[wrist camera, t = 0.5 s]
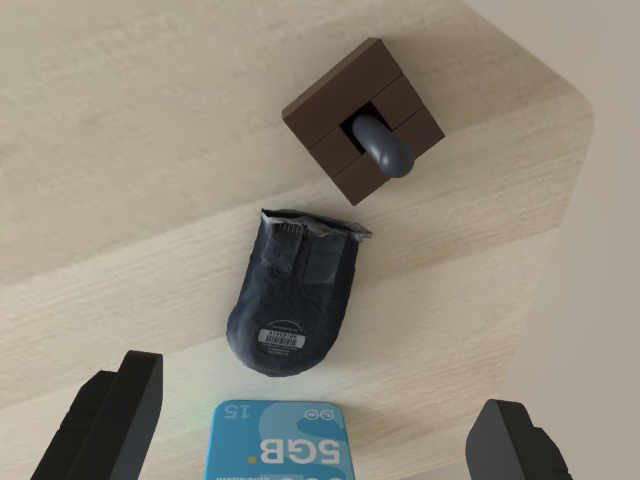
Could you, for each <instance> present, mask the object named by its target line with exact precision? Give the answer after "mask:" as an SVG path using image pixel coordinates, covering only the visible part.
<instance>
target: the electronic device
mask: <svg viewBox="0 0 640 480" xmlns="http://www.w3.org/2000/svg"><path fill="white" fill-rule="evenodd" d="M371 235H373V233H372V232H370V231H369V230H367V229H366V228H364V227H363V226H361V225H360V224H356V223H351V222H347V221H341V220H335V219H330V218H326V217H322V216H317V215H312V214H308V213H304V212H299V211H294V210H286V209H283V210H276V211H272V210H264V209H263V208H262V212H261V224H260V227H259V231H258V236H257V239H256V241H255V245H254V249H253V252H252V254H251V255H250V262H249V265H248V269H247V272H246V276H245V279H244V282H243V286H242V289H241V292H240V296H239V299H238V303H237V305H236V306H235V307H234V309H233V311H232V312H231V314H230V316H229V320H228V324H227V332H226V335H227V341H228V342H229V345H230V347H231V349H232V351H233V353H234V354H235V356H236V357H237V359H238V360H240V361H241V362H242V363H243V365H245V366H247V367H249V368H251V369H253V370H256V371H257V372H260V373H262V374H265V375H267V376H269V377H287V376H292V375H298V374H299V373H300V372H303V371H306V370H308V369H310V368H312V367H314V366H315V365H317V364H318V363H320V362H321V361H322V360H323V359H324V357H325V356H326V354H327V353H328V351H329V350H330V348H331V347H332V346H333V344H334V342H335V341H336V339H337V336H338V333H339V329H340V327H341V324H342V320H343V319H344V316H345V312H346V307H347V304H348V299H349V296H350V292H351V286H352V282H353V278H354V272H355V261H356V257H357V253H358V245H359V242H360V243H362V242H363V240H362V238H371Z"/></svg>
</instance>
